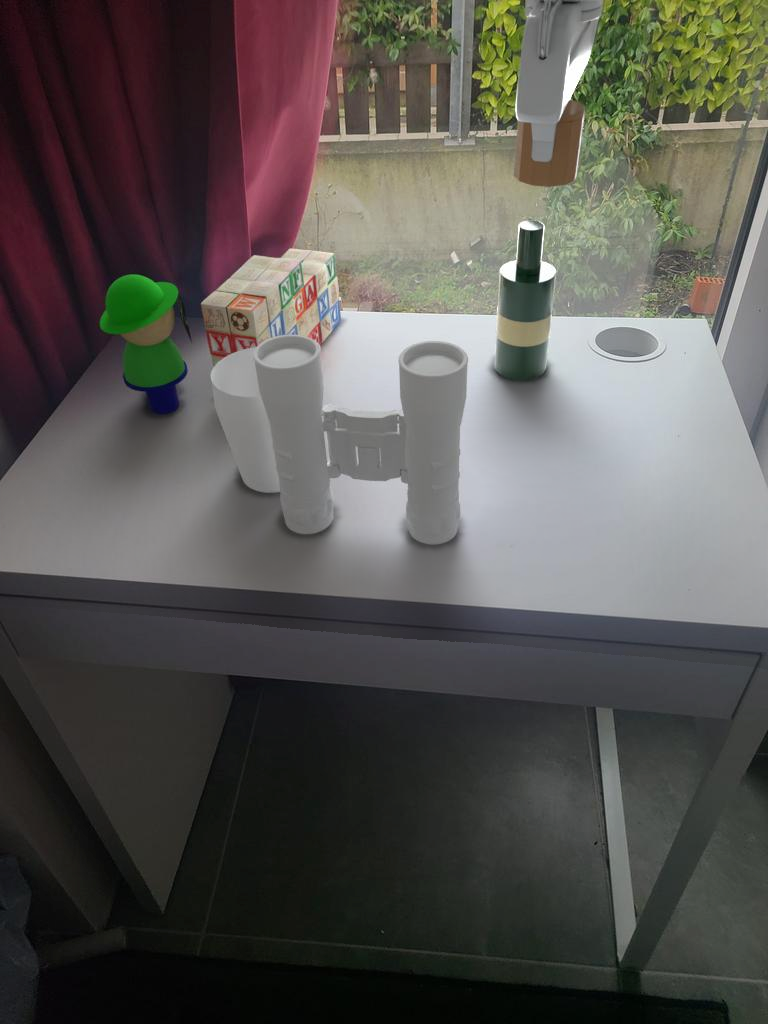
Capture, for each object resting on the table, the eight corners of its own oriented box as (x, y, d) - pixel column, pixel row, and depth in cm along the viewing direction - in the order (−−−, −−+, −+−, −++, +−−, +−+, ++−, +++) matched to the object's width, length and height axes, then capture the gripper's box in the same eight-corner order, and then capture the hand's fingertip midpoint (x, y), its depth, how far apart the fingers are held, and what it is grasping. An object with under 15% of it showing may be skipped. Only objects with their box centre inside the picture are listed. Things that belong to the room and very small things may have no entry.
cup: (299, 437, 87) (286, 336, 79) (333, 484, 81) (322, 380, 73) (218, 462, 84) (196, 361, 76) (247, 513, 78) (226, 408, 70)
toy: (208, 411, 91) (181, 286, 81) (130, 430, 89) (92, 304, 79) (192, 373, 98) (165, 252, 88) (119, 389, 95) (83, 268, 85)
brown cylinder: (579, 167, 78) (588, 100, 74) (571, 189, 74) (580, 118, 70) (520, 162, 79) (526, 96, 75) (509, 183, 75) (514, 114, 71)
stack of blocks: (298, 314, 108) (287, 223, 99) (342, 321, 106) (334, 228, 98) (219, 401, 93) (198, 301, 85) (268, 410, 91) (252, 309, 83)
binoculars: (465, 511, 77) (471, 342, 65) (459, 551, 73) (465, 378, 61) (288, 497, 79) (263, 332, 67) (274, 535, 75) (244, 367, 63)
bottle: (550, 357, 97) (565, 216, 86) (541, 384, 93) (556, 239, 81) (499, 351, 99) (508, 211, 87) (488, 377, 94) (496, 234, 83)
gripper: (592, -7, 58) (567, 190, 67) (619, -51, 72) (595, 115, 81) (504, -10, 59) (491, 183, 68) (548, -53, 74) (532, 111, 83)
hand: (548, 146), depth 75 cm, fingers closed on brown cylinder, 6 cm apart
